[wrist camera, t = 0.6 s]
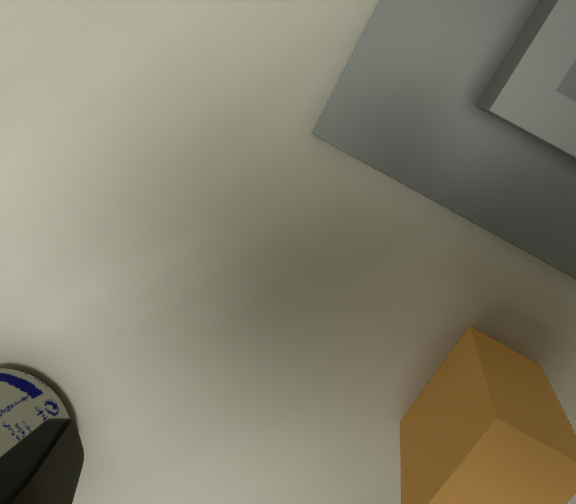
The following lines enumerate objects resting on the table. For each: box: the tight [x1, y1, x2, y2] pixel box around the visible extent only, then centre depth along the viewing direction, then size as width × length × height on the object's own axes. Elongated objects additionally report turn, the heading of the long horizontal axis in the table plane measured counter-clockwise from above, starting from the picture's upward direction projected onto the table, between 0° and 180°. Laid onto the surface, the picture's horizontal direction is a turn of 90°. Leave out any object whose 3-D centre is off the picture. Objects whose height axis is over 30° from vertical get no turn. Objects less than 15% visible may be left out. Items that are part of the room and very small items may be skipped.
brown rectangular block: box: [400, 326, 576, 504], centre depth 19 cm, size 3×5×6 cm, turn 153°
